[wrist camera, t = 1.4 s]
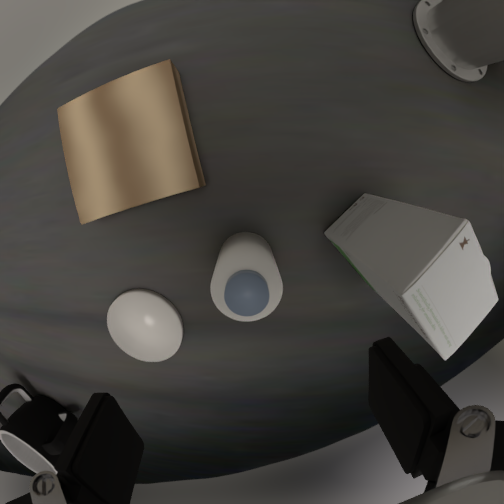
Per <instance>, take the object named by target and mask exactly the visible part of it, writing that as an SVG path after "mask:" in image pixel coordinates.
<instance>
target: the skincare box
mask: <svg viewBox="0 0 504 504" xmlns="http://www.w3.org/2000/svg"><path fill="white" fill-rule="evenodd" d="M324 234H325V236H326V237H327V238H328V239H329V240H330V241H331V242H332V244H333V245H334V246H335V247H336V248H337V249H338V250H339V252H340V253H341V254H342V255H343V256H344V257H345V258H346V260H347V261H348V262H349V263H350V264H351V265H352V266H353V268H354V269H355V270H356V271H357V272H358V274H359V275H360V276H361V277H362V278H363V280H364V281H365V282H366V283H367V284H368V285H369V286H370V287H371V288H372V289H373V290H374V291H375V292H376V293H378V294H379V295H380V296H381V297H382V298H383V299H384V300H385V301H386V302H387V303H388V304H389V305H390V306H391V307H392V308H393V309H394V310H395V311H396V312H397V313H398V314H399V315H400V316H401V317H403V318H404V319H405V320H406V321H407V322H408V323H409V324H410V325H411V326H412V327H413V328H414V329H415V330H416V331H417V332H418V333H419V334H420V335H421V336H422V337H423V338H424V339H425V340H426V341H427V342H428V343H429V344H430V345H431V346H432V347H433V348H434V349H435V350H436V351H437V352H438V353H439V355H440V356H441V357H442V358H443V359H444V360H447V359H448V358H449V357H450V356H451V355H452V354H453V353H454V352H455V351H456V350H457V349H458V348H459V347H460V346H461V344H462V343H463V342H464V341H465V340H466V339H467V338H468V336H469V335H470V334H471V333H472V332H473V331H474V329H475V328H476V327H477V326H478V325H479V323H480V322H481V321H482V320H483V319H484V317H485V316H486V315H487V314H488V313H489V311H490V310H491V309H492V308H493V306H494V305H495V304H496V303H497V301H498V296H497V293H496V290H495V286H494V283H493V280H492V277H491V274H490V272H491V268H490V263H489V260H488V259H487V258H486V257H485V256H484V255H483V252H482V250H481V247H480V245H479V242H478V240H477V238H476V235H475V233H474V231H473V228H472V226H471V224H470V222H469V221H468V220H467V219H464V218H458V217H454V216H451V215H447V214H444V213H440V212H437V211H433V210H430V209H426V208H422V207H419V206H415V205H411V204H407V203H403V202H399V201H395V200H391V199H387V198H383V197H379V196H375V195H371V194H367V193H364V194H363V195H362V196H361V197H360V198H359V199H358V200H357V201H356V202H355V203H354V204H353V205H352V206H351V207H350V208H349V209H348V210H347V211H346V212H344V213H343V214H342V215H341V216H340V217H339V218H338V219H337V220H336V221H335V222H334V223H333V224H332V225H331V226H330V227H329V228H328V229H327V230H326V231H325V232H324Z"/></svg>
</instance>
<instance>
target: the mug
mask: <svg viewBox="0 0 504 504" xmlns="http://www.w3.org/2000/svg"><path fill="white" fill-rule="evenodd" d="M13 392H18V393H19V394H20V395H21V396H22V397H23V398H24V399H25V400H26V401H27V402H26V403H24V404H23V405H22V406H21V407H20V408H18V409H17V410H16V411H15V412H14V413H13V414H12V415H11V416H10V417H9V418H8V420H7V419H6V418H5V417H4V416H3V415H2V413H1V412H0V422H1V424H2V425H3V426H2V427H1V429H0V439H1V441H2V443H3V444H4V445H5V447H6V448H7V449H8V450H9V451H10V453H11V454H12V455H13V456H14V457H16V458H17V459H18V460H19V461H20V462H21V463H23V464H24V465H25V466H27V467H28V468H29V469H31V470H32V471H34V472H36V473H39V472H41V471H51V472H53V473H54V474H57V471H56V470H55V469H54V467H55V465H56V463H57V461H58V458H59V456H60V454H61V452H62V450H63V449H64V447H65V445H66V443H67V441H68V439H69V437H70V435H71V433H72V431H73V429H74V427H75V425H76V424H77V422H78V420H77V418H76V417H75V415H74V414H72V413H71V412H69V411H66V410H65V409H64V408H62V407H61V406H60V405H59V404H57V403H56V402H55V401H53V400H51V399H49V398H47V397H44V396H35V397H32V396H31V395H30V393H29V392H28V391H27V390H26V389H25V388H24V387H23V386H21V385H19V384H11V385H8V386H6V387H5V388H4V389H3V390H2V391H1V392H0V407H1V406H2V404H3V403H4V401H5V400H6V399H7V398H8V397H9V396H10V395H11V394H12V393H13Z"/></svg>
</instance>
